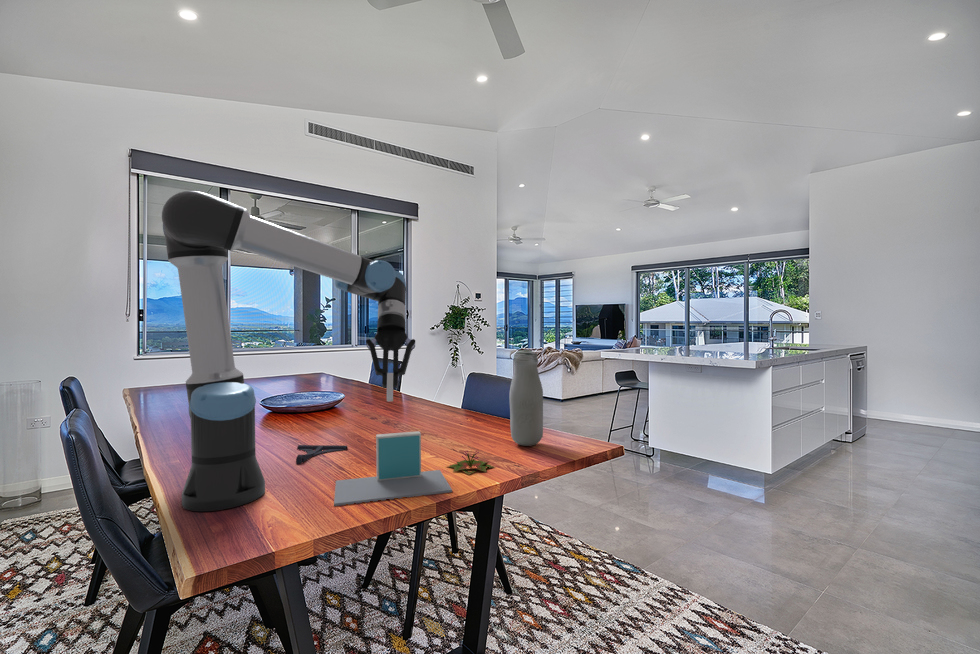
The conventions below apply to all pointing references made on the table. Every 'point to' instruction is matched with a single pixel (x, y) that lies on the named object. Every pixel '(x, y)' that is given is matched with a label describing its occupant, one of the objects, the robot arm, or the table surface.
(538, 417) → the grey bottle
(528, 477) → the table surface
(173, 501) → the table surface
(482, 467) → the lily flower
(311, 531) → the table surface
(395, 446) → the tile
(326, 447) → the bracket
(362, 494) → the mat
